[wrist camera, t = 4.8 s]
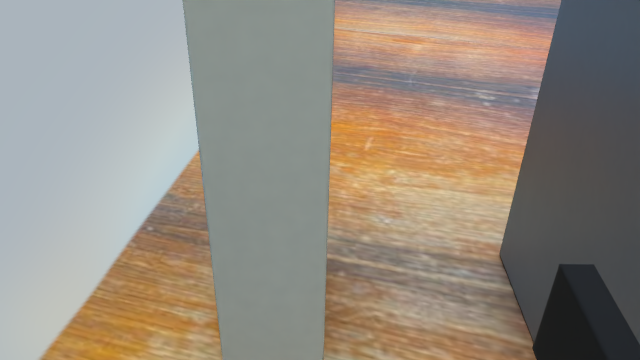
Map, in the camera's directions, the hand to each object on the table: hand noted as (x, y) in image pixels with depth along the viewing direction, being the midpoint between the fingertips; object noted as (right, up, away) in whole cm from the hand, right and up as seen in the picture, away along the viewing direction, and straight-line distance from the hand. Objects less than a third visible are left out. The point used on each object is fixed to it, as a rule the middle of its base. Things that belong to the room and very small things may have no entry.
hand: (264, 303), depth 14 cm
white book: (0, -4, +11) cm, 12 cm away
